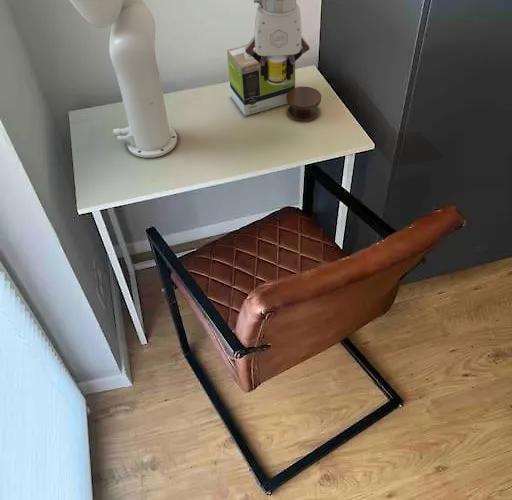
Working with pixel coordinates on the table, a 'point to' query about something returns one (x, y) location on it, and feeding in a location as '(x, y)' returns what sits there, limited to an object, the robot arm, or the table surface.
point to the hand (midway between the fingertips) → (276, 76)
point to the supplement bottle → (277, 69)
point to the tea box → (254, 83)
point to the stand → (303, 103)
